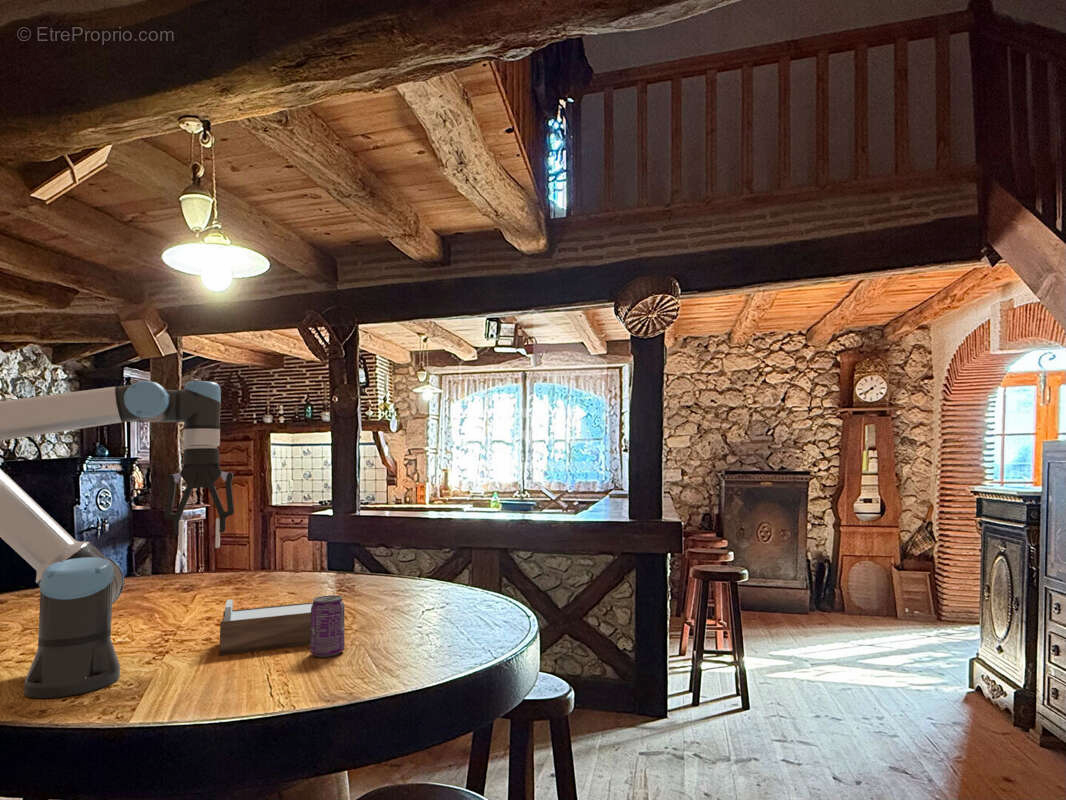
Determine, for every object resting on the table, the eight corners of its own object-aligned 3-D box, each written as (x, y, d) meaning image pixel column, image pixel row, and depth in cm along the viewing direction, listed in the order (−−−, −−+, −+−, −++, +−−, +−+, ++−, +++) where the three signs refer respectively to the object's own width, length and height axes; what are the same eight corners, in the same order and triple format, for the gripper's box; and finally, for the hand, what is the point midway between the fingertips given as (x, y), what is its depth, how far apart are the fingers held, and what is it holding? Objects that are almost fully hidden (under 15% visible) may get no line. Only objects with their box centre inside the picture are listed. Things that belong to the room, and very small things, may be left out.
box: (324, 642, 151) (324, 611, 152) (219, 655, 143) (220, 622, 144) (320, 630, 162) (320, 601, 163) (223, 642, 154) (223, 611, 155)
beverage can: (332, 647, 147) (332, 593, 148) (350, 652, 143) (351, 597, 144) (304, 655, 142) (304, 599, 143) (322, 660, 137) (322, 602, 138)
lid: (321, 616, 152) (321, 598, 153) (222, 626, 144) (223, 608, 145) (318, 607, 162) (318, 590, 162) (225, 616, 154) (226, 599, 154)
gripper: (248, 447, 158) (246, 543, 156) (155, 448, 151) (152, 549, 148) (247, 446, 151) (245, 547, 149) (150, 448, 144) (147, 553, 141)
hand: (199, 548), depth 149 cm, fingers open, 7 cm apart
